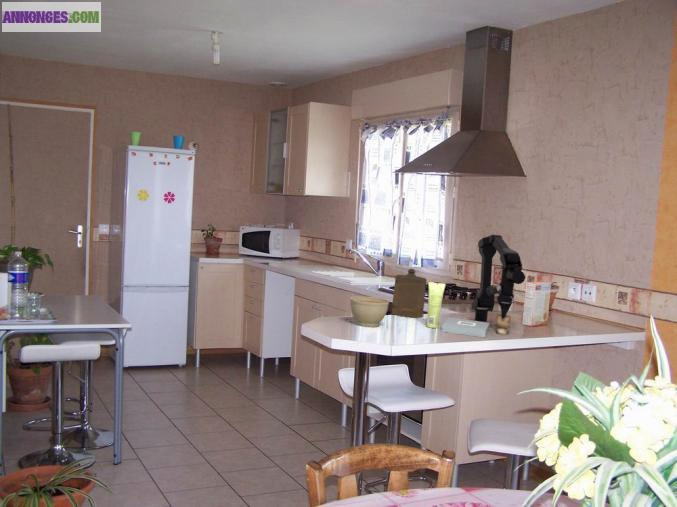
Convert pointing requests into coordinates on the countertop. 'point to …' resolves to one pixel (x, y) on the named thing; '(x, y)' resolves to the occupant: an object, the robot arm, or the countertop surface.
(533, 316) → the cracker box
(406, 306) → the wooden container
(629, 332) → the countertop surface
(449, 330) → the pale blue flat block
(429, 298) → the tube
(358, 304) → the planter bowl
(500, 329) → the cream rounded piece
